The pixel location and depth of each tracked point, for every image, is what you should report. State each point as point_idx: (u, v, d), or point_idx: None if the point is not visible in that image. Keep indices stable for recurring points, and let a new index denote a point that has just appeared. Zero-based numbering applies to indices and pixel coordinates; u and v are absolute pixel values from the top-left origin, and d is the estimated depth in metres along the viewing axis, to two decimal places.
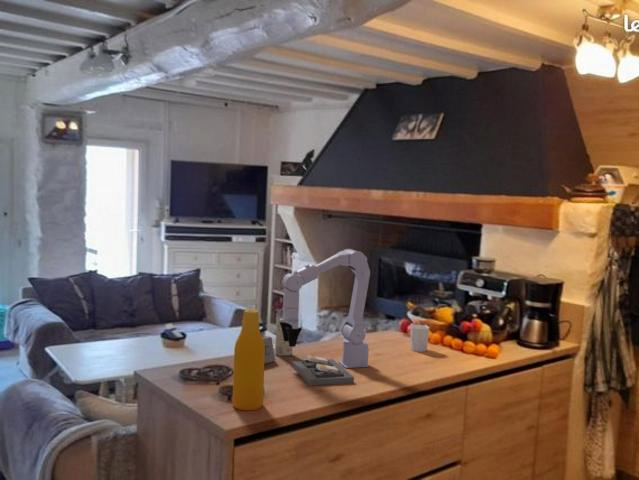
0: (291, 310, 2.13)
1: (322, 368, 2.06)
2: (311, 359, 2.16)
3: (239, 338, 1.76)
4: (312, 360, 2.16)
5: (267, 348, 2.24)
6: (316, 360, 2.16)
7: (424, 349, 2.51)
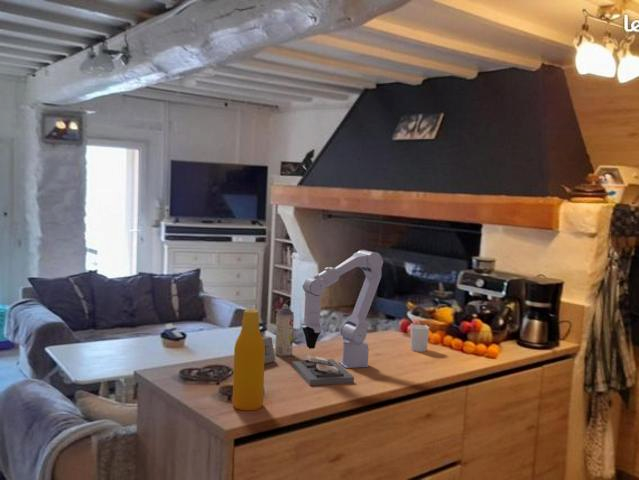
0: (313, 314, 2.13)
1: (322, 368, 2.06)
2: (311, 359, 2.16)
3: (239, 338, 1.76)
4: (312, 360, 2.16)
5: (267, 348, 2.24)
6: (316, 360, 2.16)
7: (424, 349, 2.51)
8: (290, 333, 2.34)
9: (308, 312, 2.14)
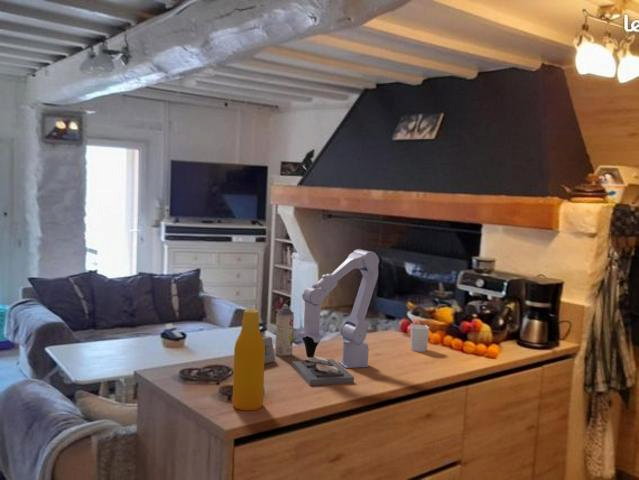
0: (312, 323, 2.14)
1: (322, 368, 2.06)
2: (311, 359, 2.16)
3: (239, 338, 1.76)
4: (312, 360, 2.16)
5: (267, 348, 2.24)
6: (316, 360, 2.16)
7: (424, 349, 2.51)
8: (290, 333, 2.34)
9: (308, 322, 2.14)
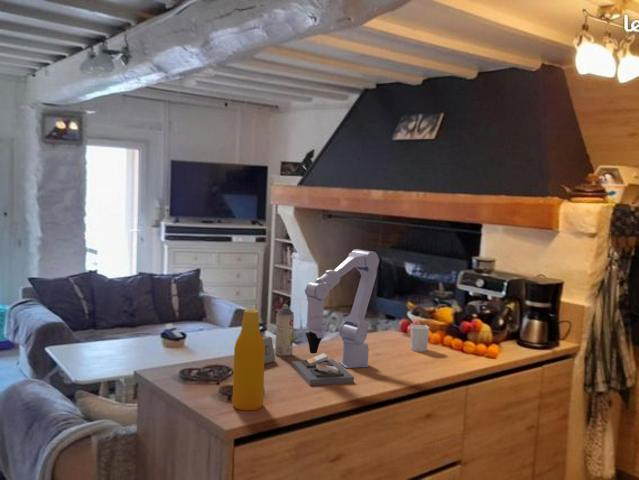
0: (315, 319, 2.10)
1: (322, 368, 2.06)
2: (311, 363, 2.16)
3: (239, 338, 1.76)
4: (312, 364, 2.16)
5: (267, 348, 2.24)
6: (316, 362, 2.16)
7: (424, 349, 2.51)
8: (290, 333, 2.34)
9: (311, 317, 2.10)
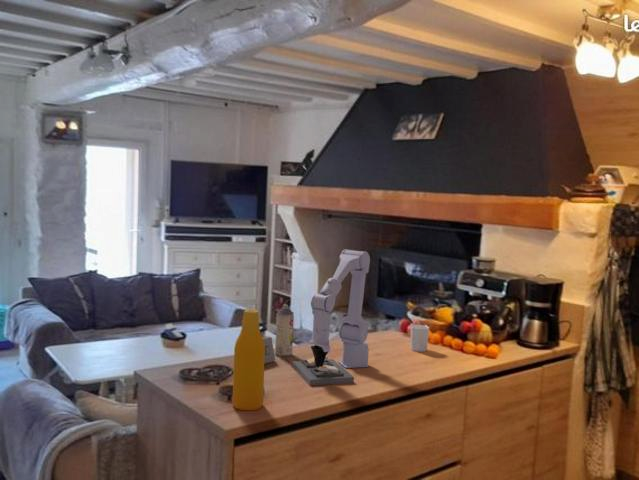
0: (322, 332, 2.03)
1: (322, 368, 2.06)
2: (311, 363, 2.16)
3: (239, 338, 1.76)
4: (312, 364, 2.16)
5: (267, 348, 2.24)
6: None
7: (424, 349, 2.51)
8: (290, 333, 2.34)
9: (317, 330, 2.04)
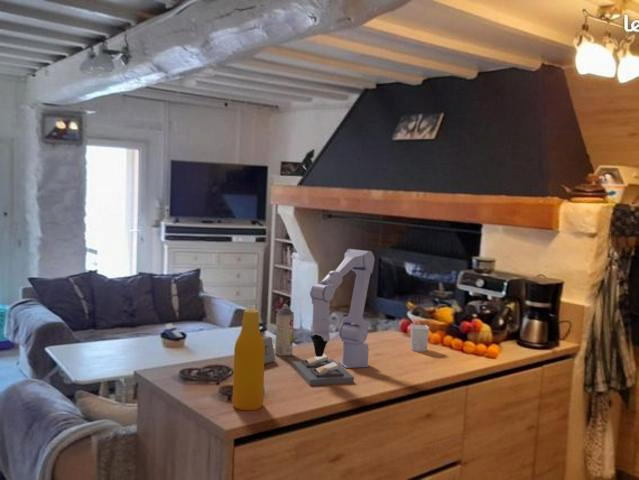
0: (321, 321, 2.06)
1: (322, 372, 2.06)
2: (311, 363, 2.16)
3: (239, 338, 1.76)
4: (312, 363, 2.16)
5: (267, 348, 2.24)
6: (316, 361, 2.16)
7: (424, 349, 2.51)
8: (290, 333, 2.34)
9: (316, 319, 2.06)
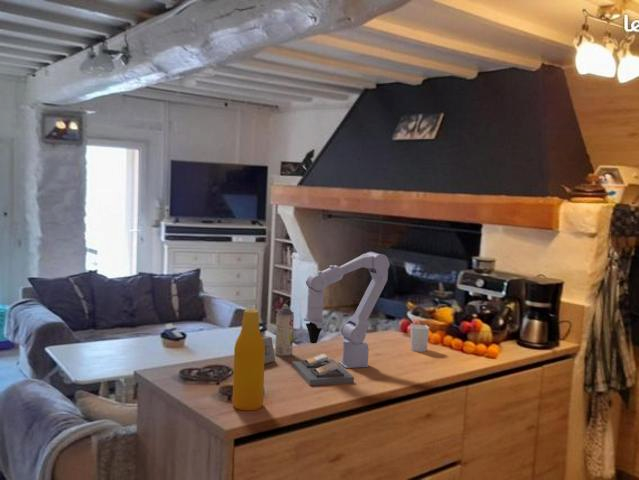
0: (316, 310, 2.16)
1: (322, 372, 2.06)
2: (311, 363, 2.16)
3: (239, 338, 1.76)
4: (312, 363, 2.16)
5: (267, 348, 2.24)
6: (316, 361, 2.16)
7: (424, 349, 2.51)
8: (290, 333, 2.34)
9: (311, 308, 2.17)
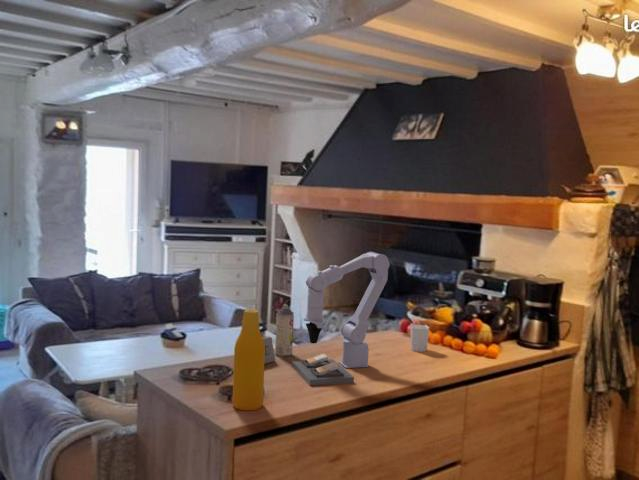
0: (316, 310, 2.16)
1: (322, 372, 2.06)
2: (311, 363, 2.16)
3: (239, 338, 1.76)
4: (312, 363, 2.16)
5: (267, 348, 2.24)
6: (316, 361, 2.16)
7: (424, 349, 2.51)
8: (290, 333, 2.34)
9: (311, 308, 2.17)
